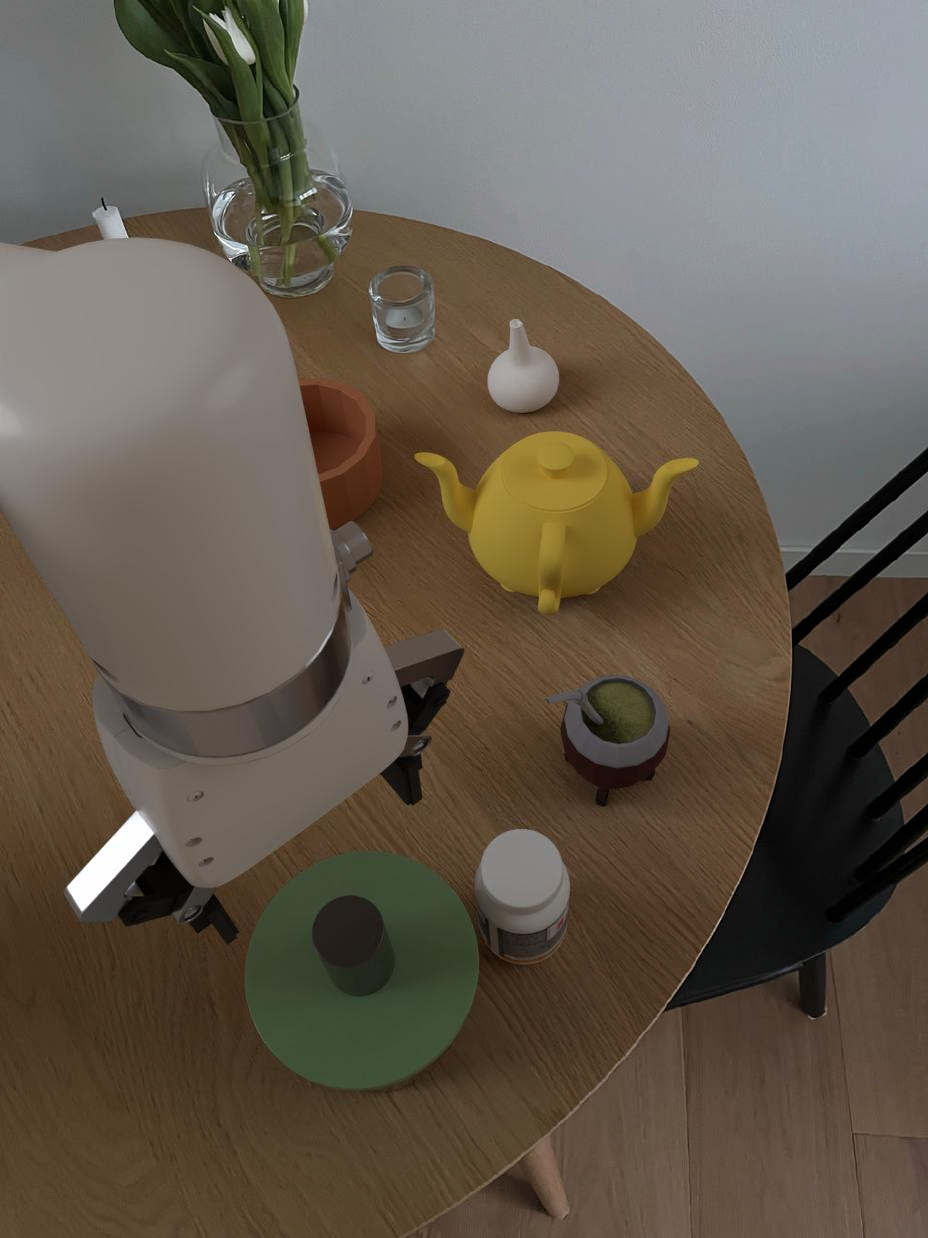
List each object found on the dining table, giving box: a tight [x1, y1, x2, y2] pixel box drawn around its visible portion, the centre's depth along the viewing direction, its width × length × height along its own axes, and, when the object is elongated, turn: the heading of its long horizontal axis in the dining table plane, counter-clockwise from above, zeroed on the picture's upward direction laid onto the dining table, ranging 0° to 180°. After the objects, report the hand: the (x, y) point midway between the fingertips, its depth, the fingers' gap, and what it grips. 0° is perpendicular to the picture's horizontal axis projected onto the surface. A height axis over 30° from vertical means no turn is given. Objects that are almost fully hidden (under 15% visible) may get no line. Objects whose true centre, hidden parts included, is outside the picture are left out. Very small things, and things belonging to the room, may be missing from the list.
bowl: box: [298, 377, 384, 530], centre depth 87 cm, size 12×12×6 cm
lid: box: [244, 850, 480, 1092], centre depth 55 cm, size 13×13×7 cm
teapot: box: [414, 430, 700, 616], centre depth 79 cm, size 20×15×12 cm
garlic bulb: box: [487, 318, 560, 414], centre depth 91 cm, size 6×6×8 cm
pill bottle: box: [474, 828, 572, 966], centre depth 64 cm, size 6×6×10 cm
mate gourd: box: [544, 674, 671, 807], centre depth 67 cm, size 8×8×15 cm
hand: (308, 845), depth 47 cm, fingers open, 9 cm apart
